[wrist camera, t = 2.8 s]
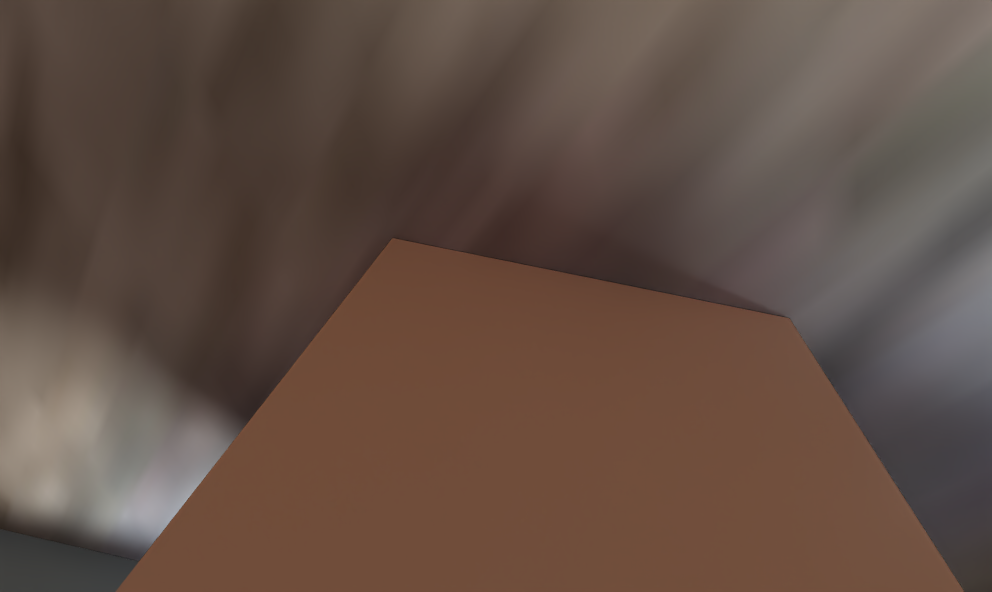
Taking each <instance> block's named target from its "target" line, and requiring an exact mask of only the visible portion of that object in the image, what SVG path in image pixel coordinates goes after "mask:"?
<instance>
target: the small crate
mask: <svg viewBox="0 0 992 592" xmlns="http://www.w3.org/2000/svg"><path fill="white" fill-rule="evenodd" d="M116 592H964V591H963V589H962V587H961V586H960V584H959V583H958V581H957V580H956V578H955V577H954V575H953V573H952V572H951V570H950V569H949V567H948V566H947V564H946V562H945V561H944V559H943V558H942V556H941V555H940V553H939V551H938V550H937V548H936V547H935V545H934V544H933V542H932V541H931V539H930V537H929V536H928V534H927V533H926V531H925V530H924V528H923V526H922V525H921V523H920V522H919V520H918V519H917V517H916V515H915V514H914V512H913V511H912V509H911V508H910V506H909V505H908V503H907V501H906V500H905V498H904V497H903V495H902V494H901V492H900V490H899V489H898V487H897V486H896V484H895V483H894V481H893V480H892V478H891V476H890V475H889V473H888V472H887V470H886V469H885V467H884V465H883V464H882V462H881V461H880V459H879V458H878V456H877V454H876V453H875V451H874V450H873V448H872V447H871V445H870V444H869V442H868V440H867V439H866V437H865V436H864V434H863V433H862V431H861V429H860V428H859V426H858V425H857V423H856V422H855V420H854V419H853V417H852V415H851V414H850V412H849V411H848V409H847V408H846V406H845V404H844V403H843V401H842V400H841V398H840V397H839V395H838V393H837V392H836V390H835V389H834V387H833V386H832V384H831V383H830V381H829V379H828V378H827V376H826V375H825V373H824V372H823V370H822V368H821V367H820V365H819V364H818V362H817V361H816V359H815V357H814V356H813V354H812V353H811V351H810V350H809V348H808V347H807V345H806V343H805V342H804V340H803V339H802V337H801V336H800V334H799V332H798V331H797V329H796V328H795V326H794V325H793V323H792V322H791V320H790V318H786V317H781V316H776V315H771V314H766V313H761V312H756V311H751V310H746V309H741V308H736V307H731V306H726V305H721V304H716V303H711V302H706V301H702V300H697V299H692V298H687V297H682V296H677V295H672V294H667V293H662V292H657V291H652V290H647V289H642V288H637V287H632V286H627V285H622V284H617V283H612V282H608V281H603V280H598V279H593V278H588V277H583V276H578V275H573V274H568V273H563V272H558V271H553V270H548V269H543V268H538V267H533V266H528V265H523V264H518V263H513V262H509V261H504V260H499V259H494V258H489V257H484V256H479V255H474V254H469V253H464V252H459V251H454V250H449V249H444V248H439V247H434V246H429V245H424V244H419V243H415V242H410V241H405V240H400V239H395V238H392V239H391V241H390V242H389V243H388V244H387V246H386V247H385V248H384V250H383V251H382V252H381V253H380V255H379V256H378V257H377V258H376V260H375V261H374V262H373V264H372V265H371V266H370V267H369V269H368V270H367V271H366V272H365V274H364V275H363V276H362V278H361V279H360V280H359V281H358V283H357V284H356V285H355V287H354V288H353V289H352V290H351V292H350V293H349V294H348V295H347V297H346V298H345V299H344V301H343V302H342V303H341V304H340V306H339V307H338V308H337V310H336V311H335V312H334V313H333V315H332V316H331V317H330V318H329V320H328V321H327V322H326V324H325V325H324V326H323V327H322V329H321V330H320V331H319V333H318V334H317V335H316V336H315V338H314V339H313V340H312V341H311V343H310V344H309V345H308V347H307V348H306V349H305V350H304V352H303V353H302V354H301V355H300V357H299V358H298V359H297V361H296V362H295V363H294V364H293V366H292V367H291V368H290V370H289V371H288V372H287V373H286V375H285V376H284V377H283V378H282V380H281V381H280V382H279V384H278V385H277V386H276V387H275V389H274V390H273V391H272V393H271V394H270V395H269V396H268V398H267V399H266V400H265V401H264V403H263V404H262V405H261V407H260V408H259V409H258V410H257V412H256V413H255V414H254V415H253V417H252V418H251V419H250V421H249V422H248V423H247V424H246V426H245V427H244V428H243V430H242V431H241V432H240V433H239V435H238V436H237V437H236V438H235V440H234V441H233V442H232V444H231V445H230V446H229V447H228V449H227V450H226V451H225V453H224V454H223V455H222V456H221V458H220V459H219V460H218V461H217V463H216V464H215V465H214V467H213V468H212V469H211V470H210V472H209V473H208V474H207V476H206V477H205V478H204V479H203V481H202V482H201V483H200V484H199V486H198V487H197V488H196V490H195V491H194V492H193V493H192V495H191V496H190V497H189V498H188V500H187V501H186V502H185V504H184V505H183V506H182V507H181V509H180V510H179V511H178V513H177V514H176V515H175V516H174V518H173V519H172V520H171V521H170V523H169V524H168V525H167V527H166V528H165V529H164V530H163V532H162V533H161V534H160V536H159V537H158V538H157V539H156V541H155V542H154V543H153V544H152V546H151V547H150V548H149V550H148V551H147V552H146V553H145V555H144V556H143V557H142V558H141V560H140V561H139V562H138V564H137V565H136V566H135V567H134V569H133V570H132V571H131V573H130V574H129V575H128V576H127V578H126V579H125V580H124V581H123V583H122V584H121V585H120V587H119V588H118V589H117V590H116Z"/></svg>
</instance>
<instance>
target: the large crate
mask: <svg viewBox="0 0 992 592" xmlns="http://www.w3.org/2000/svg"><path fill="white" fill-rule="evenodd" d="M138 562H139V561H135V560H131V559H127V558H122V557H118V556H114V555H110V554H105V553H101V552H97V551H92V550H88V549H84V548H79V547H75V546H71V545H67V544H62V543H58V542H54V541H49V540H45V539H41V538H37V537H32V536H28V535H24V534H19V533H15V532H11V531H7V530H2V529H0V592H116V590H117V589H118V588H119V587H120V585H121V584H122V583H123V581H124V580H125V579H126V578H127V576H128V575H129V574H130V573H131V571H132V570H133V569H134V567H135V566H136V565H137V564H138Z"/></svg>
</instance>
